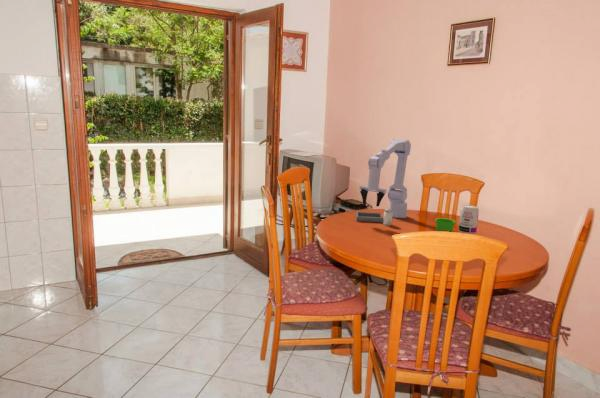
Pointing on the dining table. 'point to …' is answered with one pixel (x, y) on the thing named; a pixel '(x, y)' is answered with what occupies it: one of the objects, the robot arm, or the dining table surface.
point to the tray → (369, 217)
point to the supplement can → (468, 219)
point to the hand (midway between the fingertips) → (370, 205)
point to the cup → (444, 224)
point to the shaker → (387, 217)
